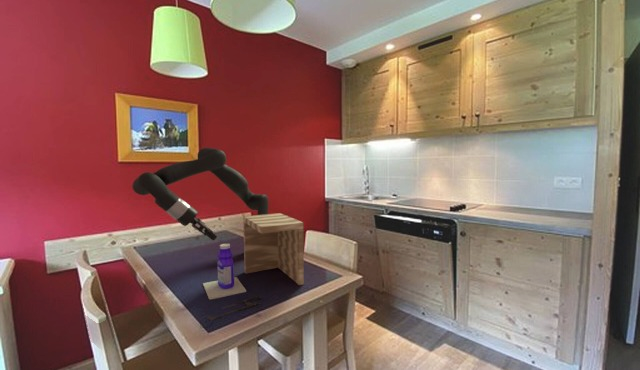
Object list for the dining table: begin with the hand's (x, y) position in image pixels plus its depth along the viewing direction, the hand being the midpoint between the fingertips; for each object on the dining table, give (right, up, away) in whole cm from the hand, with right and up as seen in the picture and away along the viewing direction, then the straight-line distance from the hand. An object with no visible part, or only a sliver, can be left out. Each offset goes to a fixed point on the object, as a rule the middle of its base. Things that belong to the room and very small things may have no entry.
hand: (213, 236), depth 123 cm
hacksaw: (+15, -23, -21) cm, 34 cm away
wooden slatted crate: (+23, -20, +8) cm, 32 cm away
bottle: (+6, -21, -2) cm, 21 cm away
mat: (+5, -21, -2) cm, 22 cm away
